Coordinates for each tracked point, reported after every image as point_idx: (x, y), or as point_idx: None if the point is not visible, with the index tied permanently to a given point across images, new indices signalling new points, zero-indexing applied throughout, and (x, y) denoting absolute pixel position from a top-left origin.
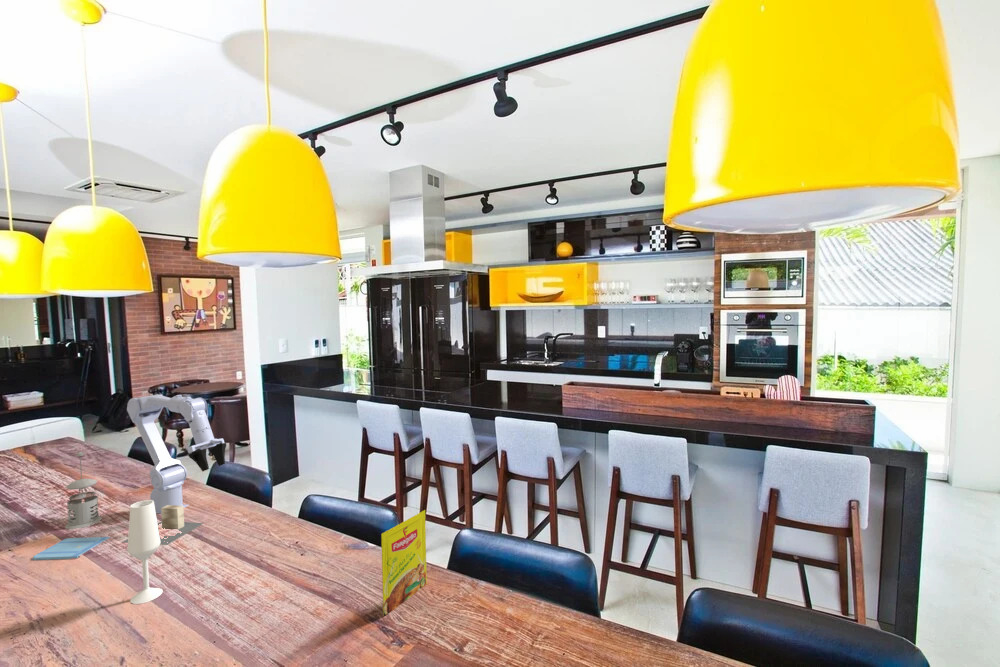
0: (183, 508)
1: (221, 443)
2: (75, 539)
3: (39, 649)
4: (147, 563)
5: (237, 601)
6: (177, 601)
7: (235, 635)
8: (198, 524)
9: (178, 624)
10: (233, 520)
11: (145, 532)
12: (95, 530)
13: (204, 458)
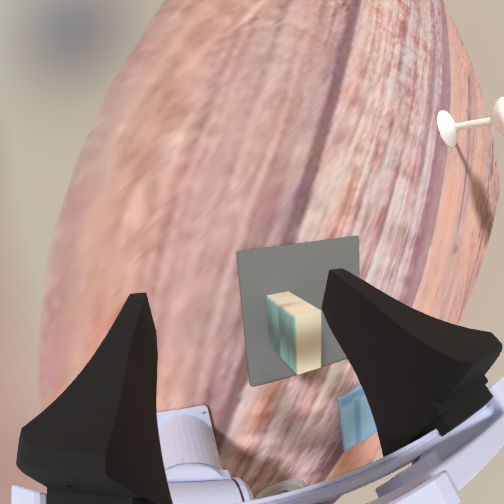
0: (291, 313)
1: (58, 501)
2: (349, 436)
3: (494, 171)
4: (485, 118)
5: (413, 12)
6: (440, 79)
7: (435, 5)
8: (249, 260)
9: (452, 58)
10: (188, 175)
11: None
12: (306, 455)
13: (411, 312)
